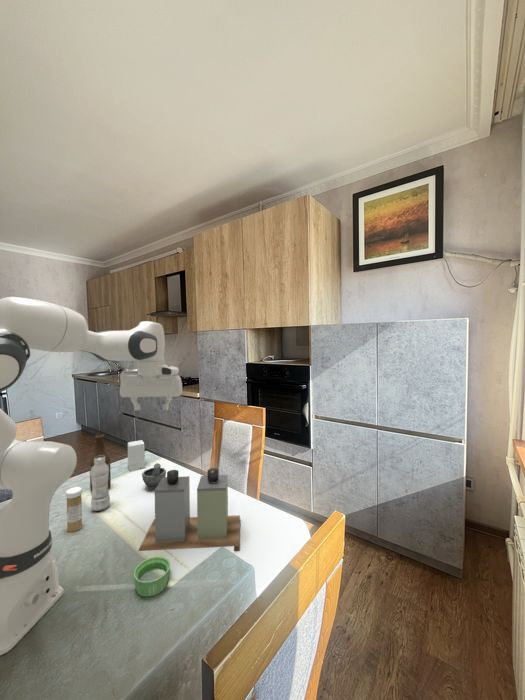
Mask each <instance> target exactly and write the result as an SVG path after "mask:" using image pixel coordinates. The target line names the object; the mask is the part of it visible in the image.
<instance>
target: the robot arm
mask: <svg viewBox="0 0 525 700" xmlns="http://www.w3.org/2000/svg"><path fill="white" fill-rule="evenodd" d="M165 349H166V340H165V331H164V327H163V325H162V324H161V323H160V322H157V321H151V320H143V321H142V320H141V321H140V322H139V323H138V325H136V327H134V328H131V329H130V330H128V329H126V330H109V329H108V330H107V329H105V330H99V331H96V332H94V331H93V330H92V331H91V330H89V326H88V323H87V319H86V318H85V316H84V315H83V314H81V313H79V312H77V311H75V310H73V309H72V308H68V307H65V306H62V305H60V304H57V303H52V302H49V301H45V300H39V299H34V298H28V297H19V296H7V297H3V298H0V393H3V392H4V391H6V390H8V389H9V388H11V387H12V386H13V385H14V384H15V383H17V381H18V380H19V379H20V377H21V376H22V374H23V373H24V370H25V368H26V364H27V361H28V360H29V359H30V357H31V350H36V351H43V352H44V351H45V352H50V353H51V352H52V353H73V352H74V353H76V352H77V351H79V352H85V353H89V354H91V355H93V356H94V357H96V358H97V359H99V360H100V361H103V362H115V361H116V362H117V361H118V362H119V361H120V362H121V361H122V362H131V361H132V362H137V369H124V370H122V371H121V372H120V373H119V375H120V376H119V378H120V379H119V380H120V386H119V395H120V397H121V398H130V401H131V403H132V404H133V406H134V411H141V409H142V408H141V407H142V406H141V405H142V404H140V403H138V401H137V400H138V398H165V400H166V403H165V404H163V405H162V410H163V411H168V410H169V407H170V406H169V404H170V403H171V401H172V399H173V398H175V397H177V398H178V397H180V396H181V395H182V394H183V382H182V378H181V376H180V375H179V372H180V370H179V369H180V368H179V367H177V366H173V365H169V364H166V359H165V353H164V352H165ZM17 432H18V428H17V424H16V422H15V421H14V419H12V418H11V417H10V416H9V414H7V413H6V412H5V411H4V410H3V409H2V408H1V407H0V490H11V492H12V497H11V498H12V499H11V501H10V502H8V503H6V504H4V506H3V507H1V508H0V656H2V655H4V654H6V653H9V651H11V650H12V649H13V648H14V647H15V646H16V645H17V644H18V643H19V642H20V641H21V639H23V637H24V636H25V635H26V634H27V633H28V632H29V631H30V630H31V629H32V628H33V627H34V625H36V623H38V622H39V621H40V620H41V619H42V618H43V616H44V615H45V614H46V613H47V612H48V611H49V610H50V609H51V608H52V607H53V606H54V605H55V603H57V602H58V601H59V599H60V598H61V597H62V596H63V595H64V588H63V587H62V586H61V585H60V581H59V575H58V569H57V562H56V559H55V558H54V555H53V553H52V552H51V551H52V550H51V549H52V547H53V546H52V545H53V543H52V542H53V536H52V531H51V530H50V511H51V510H50V508H51V502H52V499H53V496H54V495H55V493H56V492H57V491H58V489H60V487H61V486H62V485H63V484H65V483H66V482H67V481H68V480H69V479H70V478H71V477H72V475H73V474H74V472H75V470H76V466H77V461H78V460H77V458H78V457H77V453H76V450H75V449H74V448H73V446H71V445H70V444H66V443H61V442H56V441H45V440H43V441H40V440H39V441H36V440H35V441H25V440H23V441H22V440H18V439H16V436H17Z"/></svg>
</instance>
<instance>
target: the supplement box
mask: <svg viewBox="0 0 525 700" xmlns="http://www.w3.org/2000/svg"><path fill="white" fill-rule="evenodd" d="M145 446H146V445H145V442H144V441H143V440H142V439H139V440H134V441H130V442H129V441H128V442H127V468H128V471H129V472H132V470H133V471H137V470H136V469H138V470H141V469H140V468H143V469H145V468H146V461H145V459H146V458H145V457H146V453H145V450H146V449H145Z"/></svg>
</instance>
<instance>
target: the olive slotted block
mask: <svg viewBox="0 0 525 700" xmlns="http://www.w3.org/2000/svg"><path fill="white" fill-rule="evenodd" d="M228 478H229V476H228V474H222V475H221V474H219V480H218V481H216V482H215V483H212V482H209V481H208V480H207V475H201V476H200V479H199V482H198V484H197V489H196V501H197V502H196V503H197V504H196V505H197V506H196V507H197V508H196V509H197V511H196V513H197V515H196V517H197V528H198V540H213V539H227V527H228V516H229V506H228V505H229V500H228V499H229V495H228V493H229V492H228V490H229V489H228V488H229V487H228V484H229V483H228V481H229V480H228Z"/></svg>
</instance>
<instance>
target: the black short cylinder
mask: <svg viewBox="0 0 525 700" xmlns="http://www.w3.org/2000/svg"><path fill="white" fill-rule="evenodd" d="M179 475H180V474H179V470H178V469H171V470H170V469H169V470H168V471H166V477H167V483H168V484H171V485H172V484H174V483H177V482H178V481H179V477H180V476H179Z"/></svg>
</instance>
